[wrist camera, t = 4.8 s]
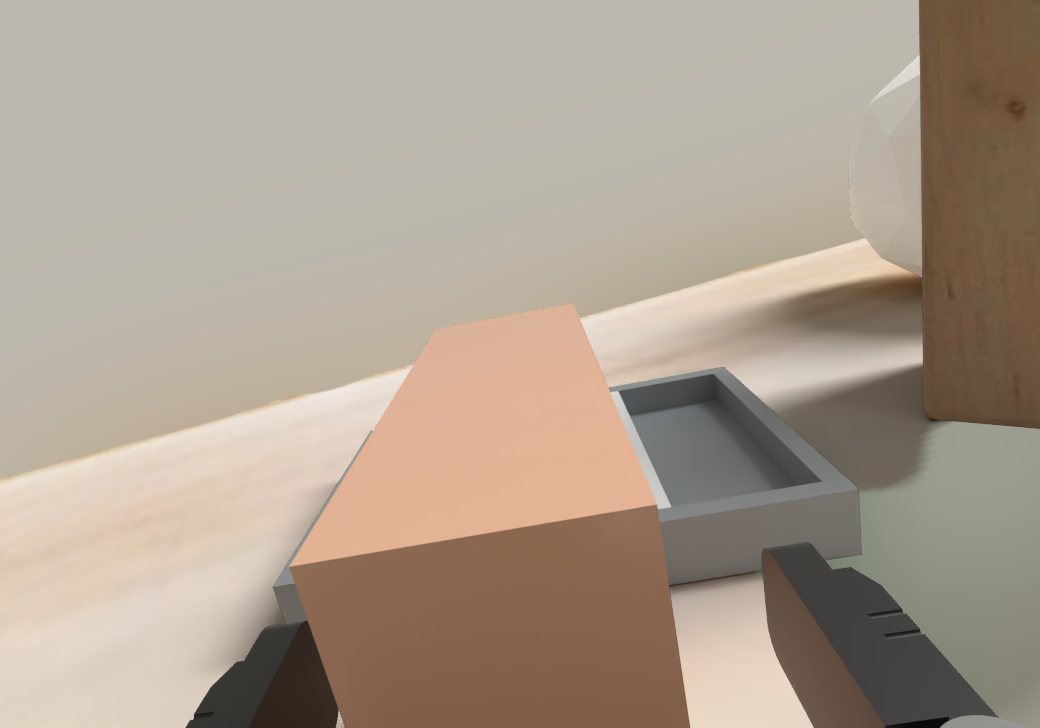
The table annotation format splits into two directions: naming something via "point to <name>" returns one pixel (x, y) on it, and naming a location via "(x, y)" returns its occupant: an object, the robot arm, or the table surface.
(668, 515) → the tray
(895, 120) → the geometric form
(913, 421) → the table surface
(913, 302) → the table surface
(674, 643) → the tan brick
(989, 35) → the wooden block
